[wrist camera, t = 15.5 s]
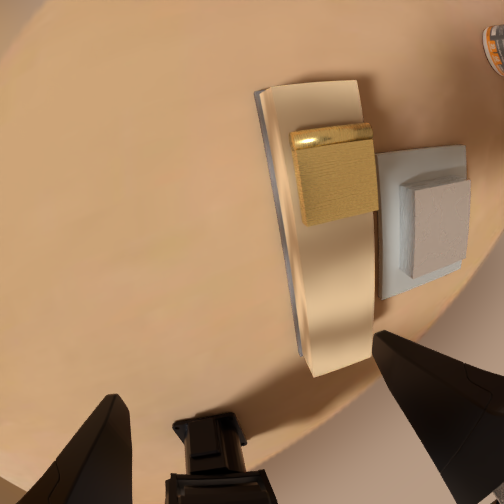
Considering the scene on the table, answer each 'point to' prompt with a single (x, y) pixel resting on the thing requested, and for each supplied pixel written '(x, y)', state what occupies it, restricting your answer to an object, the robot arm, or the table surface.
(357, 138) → the gold flat block
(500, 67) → the pill bottle
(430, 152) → the mat
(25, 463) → the table surface
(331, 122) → the body
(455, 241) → the cap plate
